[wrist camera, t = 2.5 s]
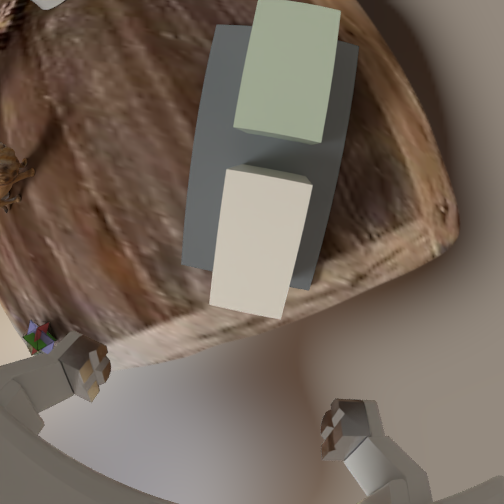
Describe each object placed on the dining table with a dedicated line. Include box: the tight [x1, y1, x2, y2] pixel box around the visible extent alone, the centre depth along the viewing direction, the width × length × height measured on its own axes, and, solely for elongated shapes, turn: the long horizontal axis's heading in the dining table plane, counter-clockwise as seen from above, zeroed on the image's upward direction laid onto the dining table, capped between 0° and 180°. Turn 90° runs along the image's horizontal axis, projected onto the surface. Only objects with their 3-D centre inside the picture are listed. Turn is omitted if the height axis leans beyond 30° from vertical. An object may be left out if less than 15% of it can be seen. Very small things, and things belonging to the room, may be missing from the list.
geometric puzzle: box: [22, 319, 57, 355], centre depth 37 cm, size 7×7×8 cm
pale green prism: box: [233, 0, 341, 145], centre depth 18 cm, size 11×6×7 cm, turn 171°
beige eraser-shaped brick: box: [209, 164, 313, 319], centre depth 23 cm, size 11×6×7 cm, turn 171°
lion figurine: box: [0, 142, 35, 213], centre depth 25 cm, size 15×5×9 cm, turn 131°
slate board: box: [181, 25, 359, 290], centre depth 25 cm, size 26×14×1 cm, turn 171°
